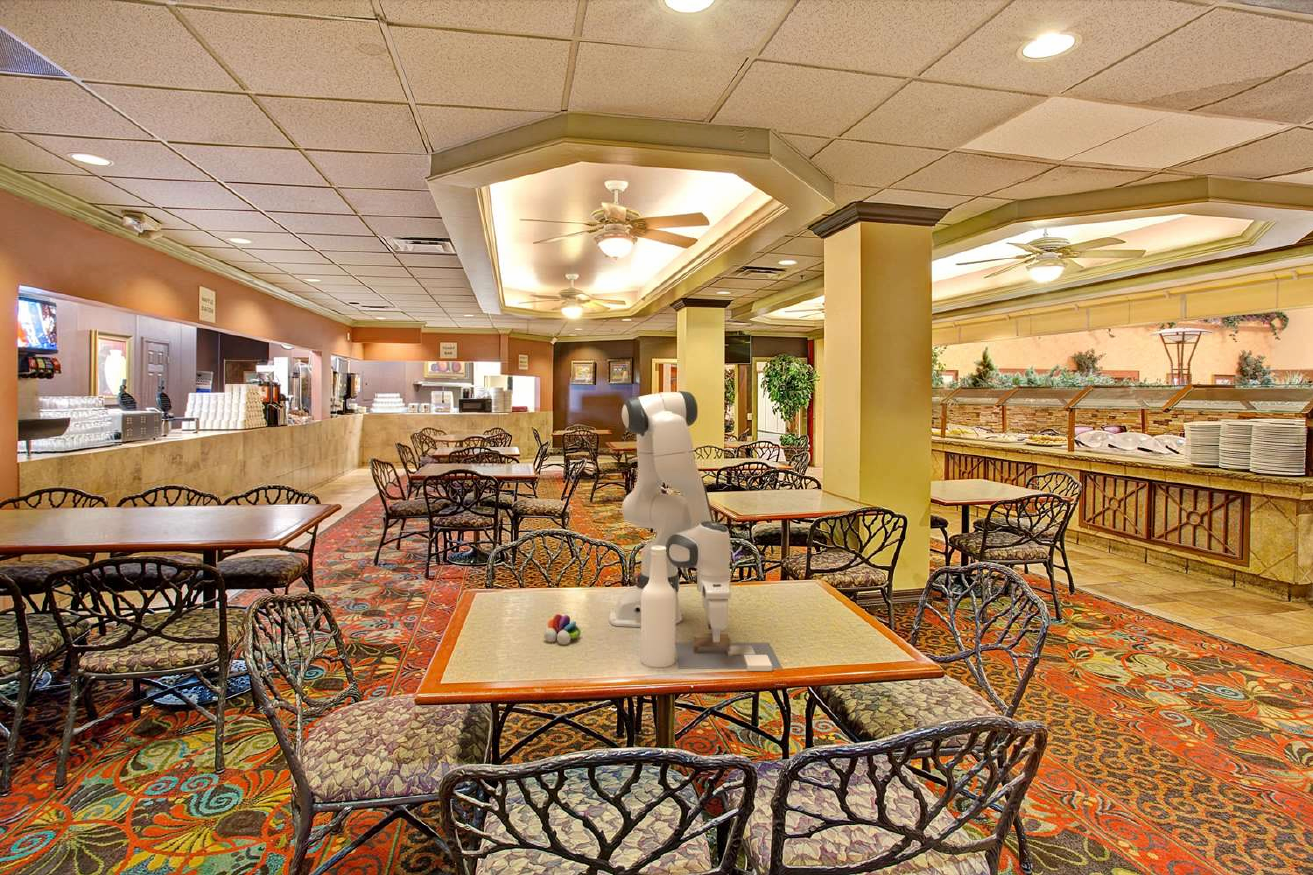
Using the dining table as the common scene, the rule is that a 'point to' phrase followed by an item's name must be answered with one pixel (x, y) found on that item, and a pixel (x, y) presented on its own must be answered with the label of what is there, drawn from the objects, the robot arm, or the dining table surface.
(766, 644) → the mat
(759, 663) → the tile
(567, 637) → the multicoloured ball cluster
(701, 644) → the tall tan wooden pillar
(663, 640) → the alcohol
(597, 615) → the dining table surface
